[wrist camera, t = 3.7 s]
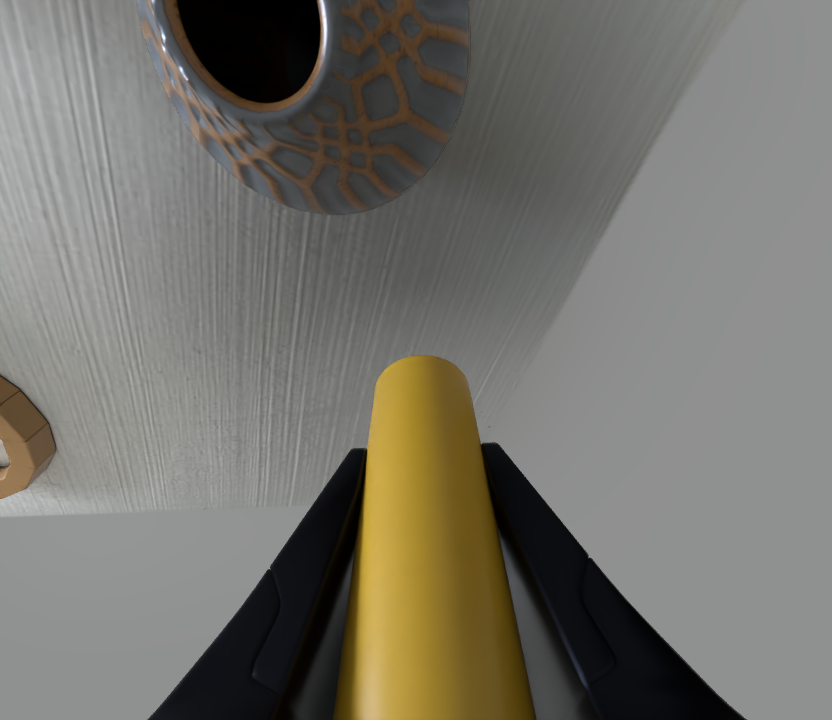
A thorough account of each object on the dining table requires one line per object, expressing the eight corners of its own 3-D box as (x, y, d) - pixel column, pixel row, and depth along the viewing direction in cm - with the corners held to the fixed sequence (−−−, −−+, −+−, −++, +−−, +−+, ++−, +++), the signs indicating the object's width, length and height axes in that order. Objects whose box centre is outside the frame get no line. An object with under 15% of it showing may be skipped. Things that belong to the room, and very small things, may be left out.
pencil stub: (488, 389, 12) (621, 885, 4) (424, 438, 13) (441, 886, 6) (419, 335, 10) (437, 893, 3) (356, 395, 12) (261, 892, 4)
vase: (493, 102, 12) (608, 98, 5) (339, 224, 14) (268, 342, 7) (360, -179, 9) (157, -1293, 2) (188, 35, 11) (-210, -88, 4)
